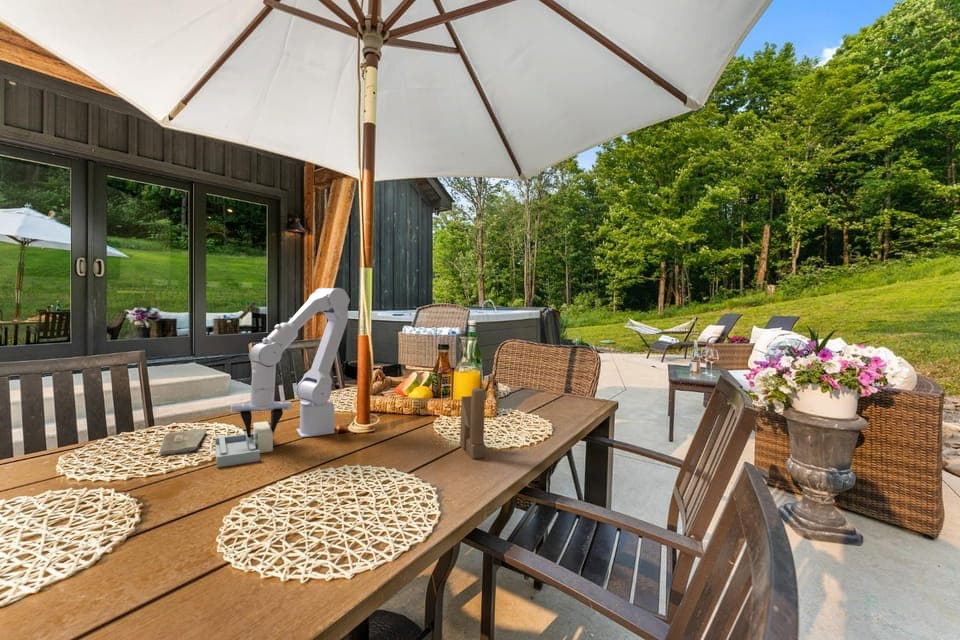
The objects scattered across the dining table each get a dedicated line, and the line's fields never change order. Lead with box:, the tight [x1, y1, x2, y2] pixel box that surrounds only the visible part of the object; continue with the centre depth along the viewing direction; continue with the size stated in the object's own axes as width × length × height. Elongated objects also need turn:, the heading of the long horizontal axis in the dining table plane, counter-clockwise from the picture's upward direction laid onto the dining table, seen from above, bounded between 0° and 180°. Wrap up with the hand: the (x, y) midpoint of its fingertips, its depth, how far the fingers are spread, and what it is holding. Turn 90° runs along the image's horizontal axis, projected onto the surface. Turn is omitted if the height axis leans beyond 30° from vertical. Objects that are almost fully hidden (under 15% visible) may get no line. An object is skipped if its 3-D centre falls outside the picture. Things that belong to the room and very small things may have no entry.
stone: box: [159, 428, 208, 456], centre depth 116 cm, size 18×3×10 cm
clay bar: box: [252, 420, 274, 454], centre depth 117 cm, size 12×4×5 cm, turn 33°
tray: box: [214, 432, 261, 468], centre depth 110 cm, size 9×16×3 cm, turn 33°
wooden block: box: [459, 387, 487, 460], centre depth 117 cm, size 4×11×18 cm, turn 21°
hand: (260, 437), depth 117 cm, fingers open, 5 cm apart
